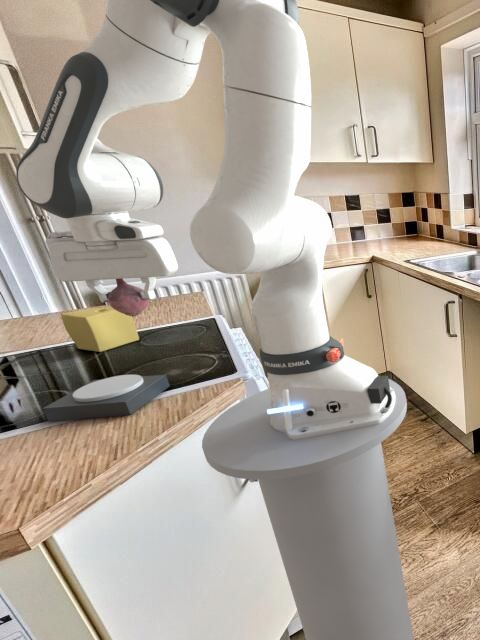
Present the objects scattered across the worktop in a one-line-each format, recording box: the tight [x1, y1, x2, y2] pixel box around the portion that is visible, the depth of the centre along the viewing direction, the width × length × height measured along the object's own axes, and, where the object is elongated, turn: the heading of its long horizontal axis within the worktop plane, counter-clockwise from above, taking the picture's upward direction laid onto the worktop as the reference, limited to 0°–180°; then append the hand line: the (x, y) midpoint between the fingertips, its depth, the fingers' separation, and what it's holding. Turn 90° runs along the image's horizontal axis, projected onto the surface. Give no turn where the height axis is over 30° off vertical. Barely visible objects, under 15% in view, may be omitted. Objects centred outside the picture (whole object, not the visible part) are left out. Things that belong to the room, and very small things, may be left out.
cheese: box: [61, 305, 140, 353], centre depth 115 cm, size 10×11×10 cm
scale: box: [42, 374, 171, 423], centre depth 84 cm, size 14×12×4 cm
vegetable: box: [107, 279, 150, 319], centre depth 84 cm, size 6×6×10 cm
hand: (129, 300), depth 85 cm, fingers closed on vegetable, 6 cm apart
